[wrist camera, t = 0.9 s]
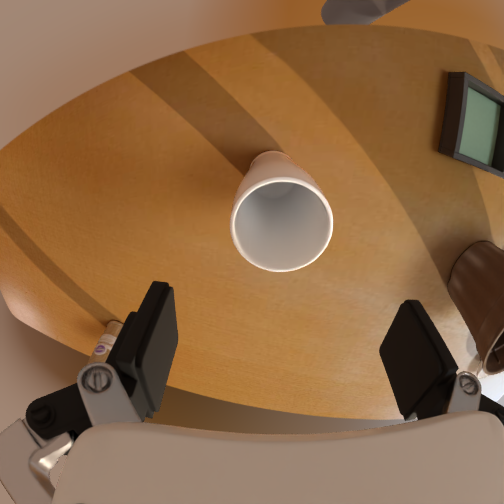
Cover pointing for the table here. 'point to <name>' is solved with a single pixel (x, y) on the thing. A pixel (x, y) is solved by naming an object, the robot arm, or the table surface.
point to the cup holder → (473, 124)
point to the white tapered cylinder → (279, 215)
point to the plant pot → (482, 300)
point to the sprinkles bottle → (106, 342)
